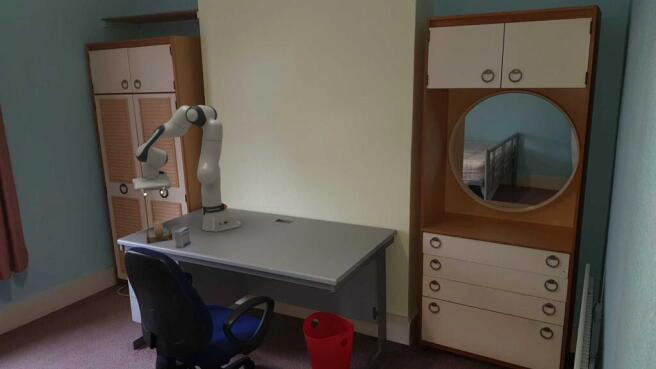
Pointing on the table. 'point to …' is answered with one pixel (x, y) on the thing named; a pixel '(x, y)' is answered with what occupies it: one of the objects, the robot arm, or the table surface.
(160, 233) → the terracotta canister
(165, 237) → the frame
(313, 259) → the table surface
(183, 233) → the medicine box
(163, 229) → the pad
